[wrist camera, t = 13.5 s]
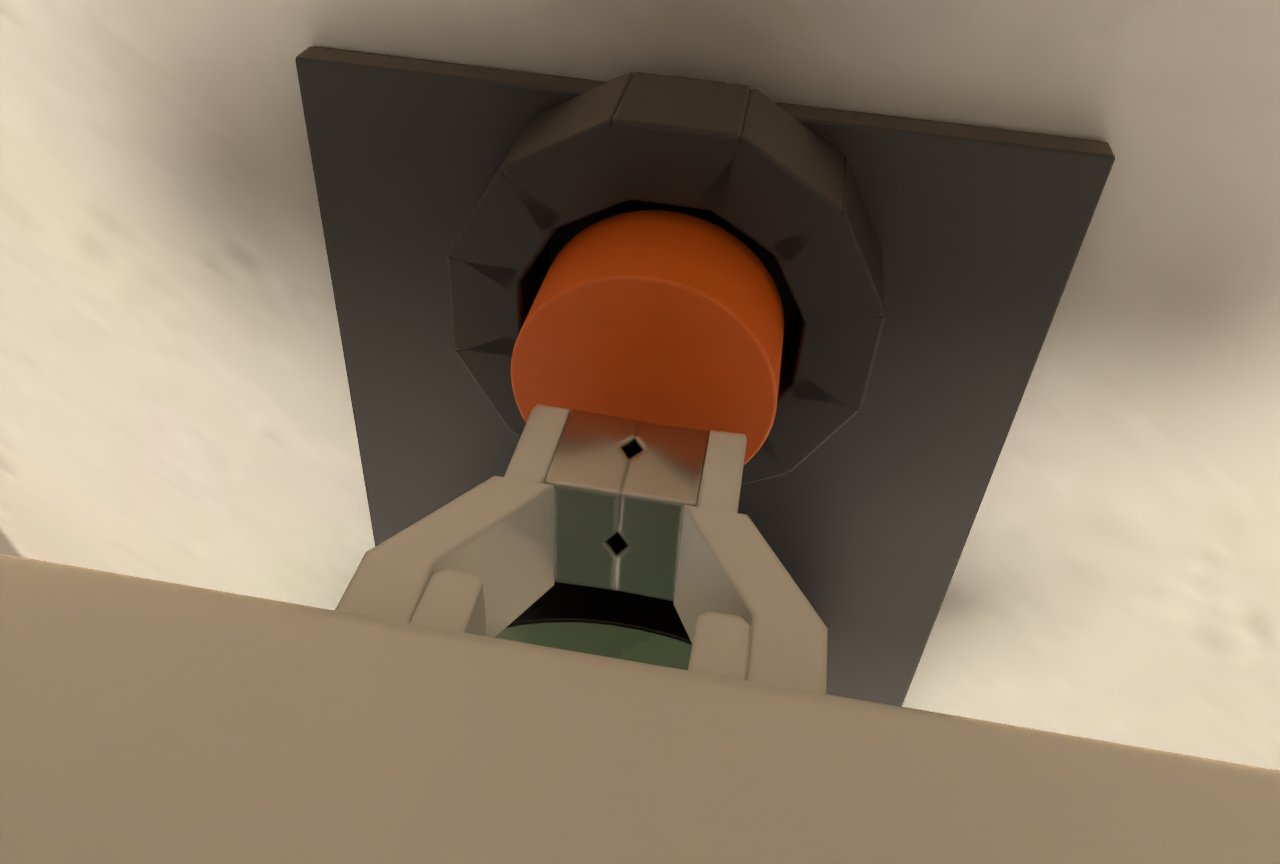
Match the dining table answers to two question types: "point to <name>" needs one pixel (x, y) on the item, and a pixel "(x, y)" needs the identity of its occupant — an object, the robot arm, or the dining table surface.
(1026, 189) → the button base
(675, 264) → the power button
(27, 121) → the dining table surface
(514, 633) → the kettle
